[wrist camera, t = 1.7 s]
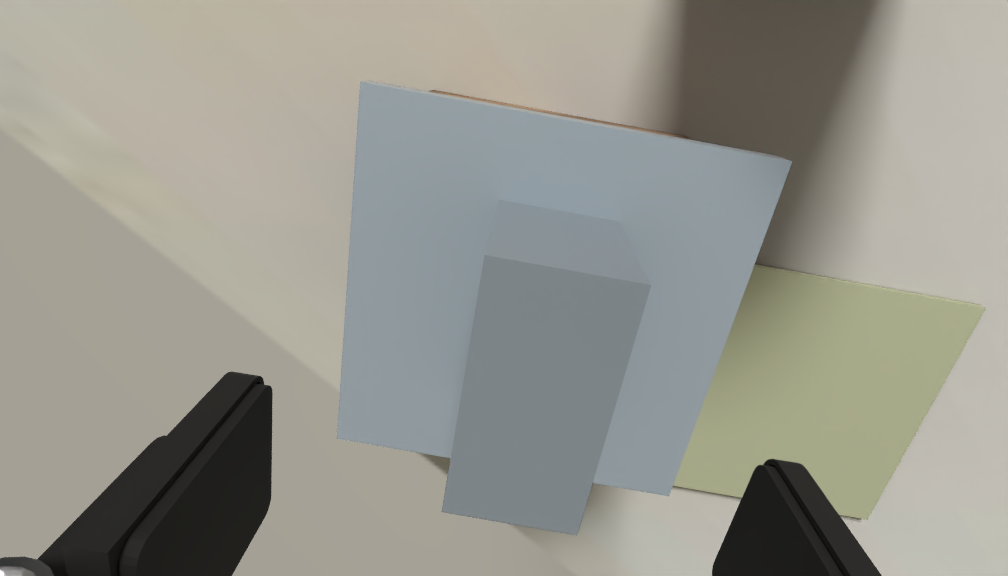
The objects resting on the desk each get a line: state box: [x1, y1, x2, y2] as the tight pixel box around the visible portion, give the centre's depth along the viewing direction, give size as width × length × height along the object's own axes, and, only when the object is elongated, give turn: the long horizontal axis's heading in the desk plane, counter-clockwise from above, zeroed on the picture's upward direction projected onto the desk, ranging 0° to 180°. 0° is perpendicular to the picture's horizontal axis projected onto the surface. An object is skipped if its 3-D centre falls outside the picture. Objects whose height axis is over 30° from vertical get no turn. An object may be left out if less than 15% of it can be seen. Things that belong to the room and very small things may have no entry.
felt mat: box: [673, 264, 986, 520], centre depth 28 cm, size 13×13×1 cm
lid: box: [337, 81, 793, 535], centre depth 16 cm, size 12×12×7 cm
